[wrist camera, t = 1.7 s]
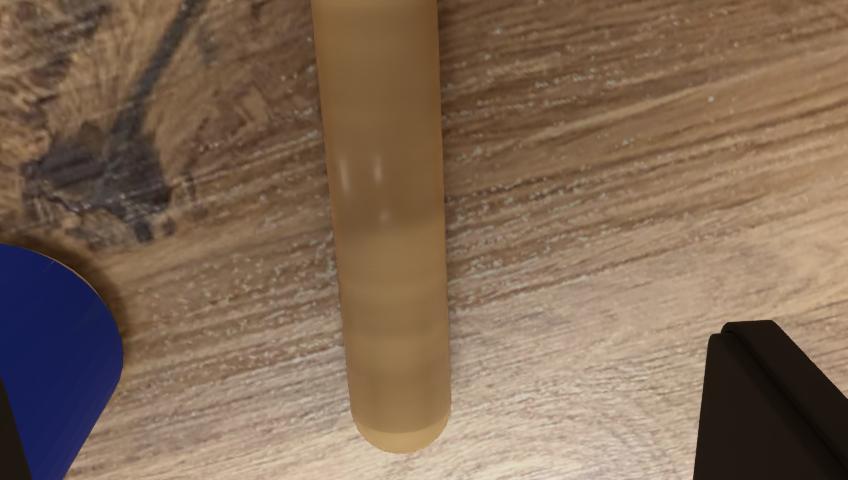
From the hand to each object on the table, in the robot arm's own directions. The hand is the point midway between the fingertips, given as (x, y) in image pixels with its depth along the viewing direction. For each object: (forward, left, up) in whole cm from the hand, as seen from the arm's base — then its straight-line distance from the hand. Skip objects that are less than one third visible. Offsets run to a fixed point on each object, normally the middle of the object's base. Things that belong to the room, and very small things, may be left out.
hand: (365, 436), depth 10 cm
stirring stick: (-1, 0, -8) cm, 8 cm away
